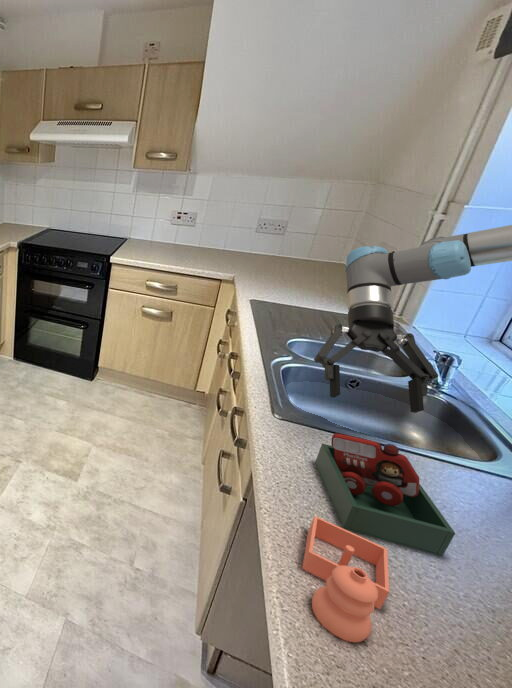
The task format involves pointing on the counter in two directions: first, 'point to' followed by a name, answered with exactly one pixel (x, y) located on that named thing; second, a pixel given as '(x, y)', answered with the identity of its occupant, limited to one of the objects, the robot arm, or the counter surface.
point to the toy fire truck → (375, 469)
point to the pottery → (346, 581)
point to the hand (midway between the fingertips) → (375, 403)
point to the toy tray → (385, 512)
